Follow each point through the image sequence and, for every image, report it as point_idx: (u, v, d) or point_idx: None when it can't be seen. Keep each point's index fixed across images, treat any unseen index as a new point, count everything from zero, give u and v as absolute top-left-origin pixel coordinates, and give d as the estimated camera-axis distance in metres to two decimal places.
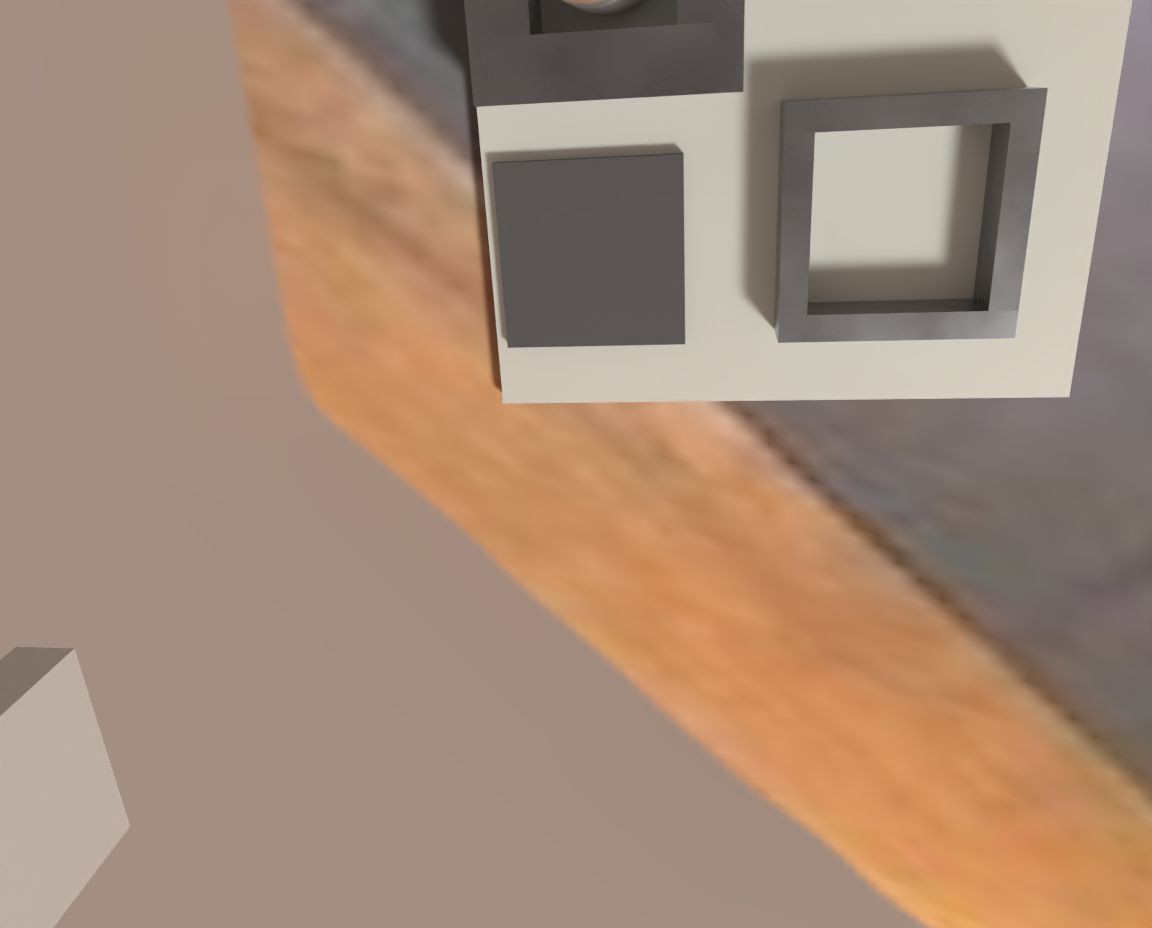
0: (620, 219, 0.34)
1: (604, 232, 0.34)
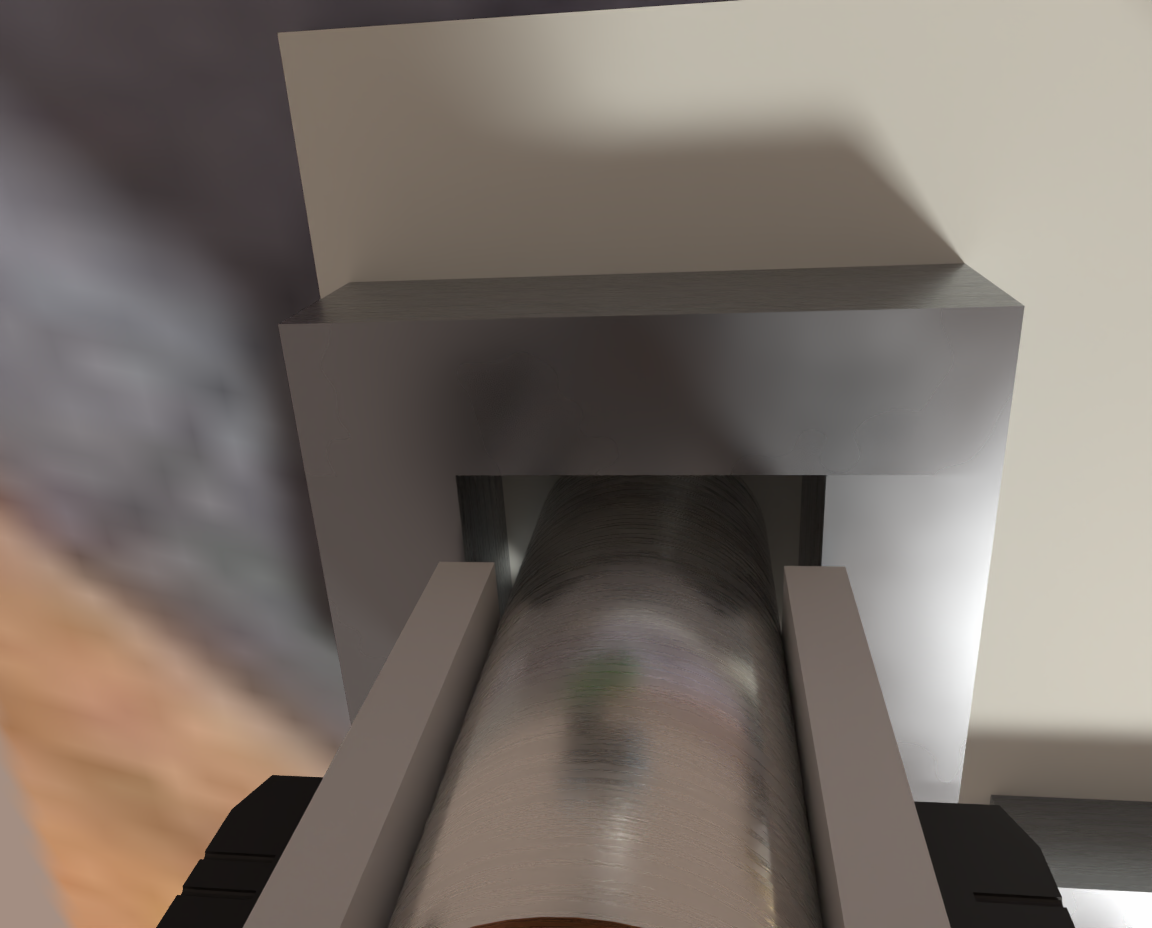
0: None
1: None
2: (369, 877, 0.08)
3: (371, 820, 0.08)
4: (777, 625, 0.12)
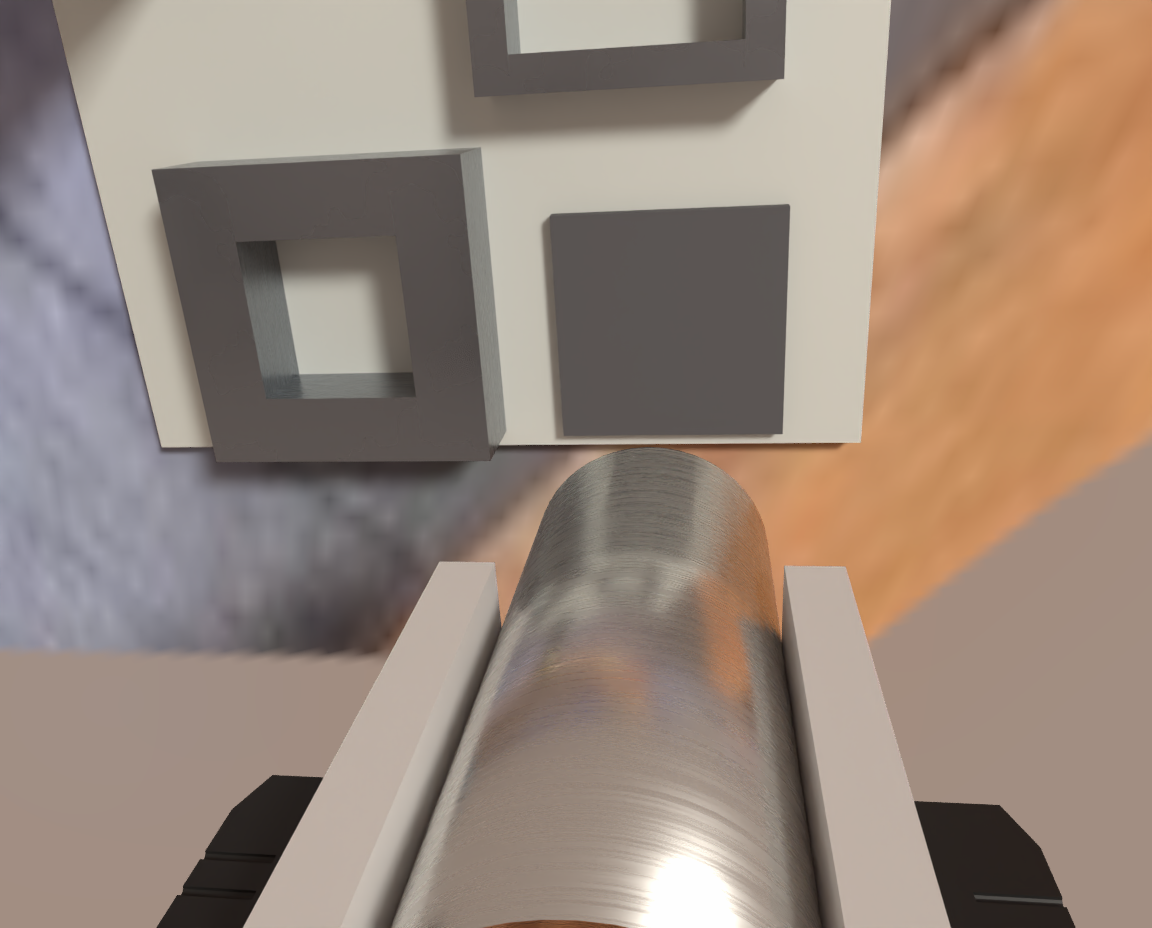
0: (625, 292, 0.28)
1: (641, 311, 0.28)
2: (370, 877, 0.08)
3: (372, 820, 0.08)
4: (777, 633, 0.12)
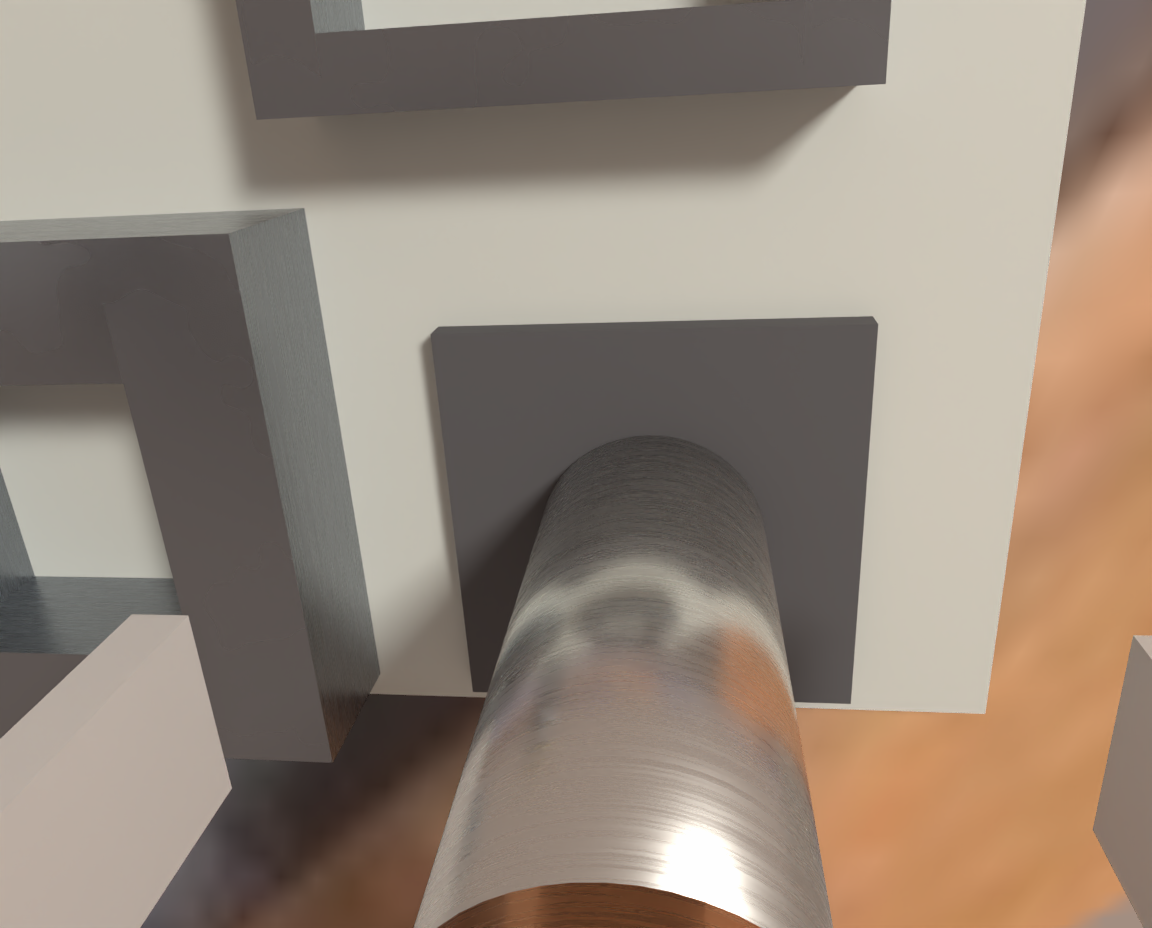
0: None
1: None
2: None
3: None
4: (777, 613, 0.12)
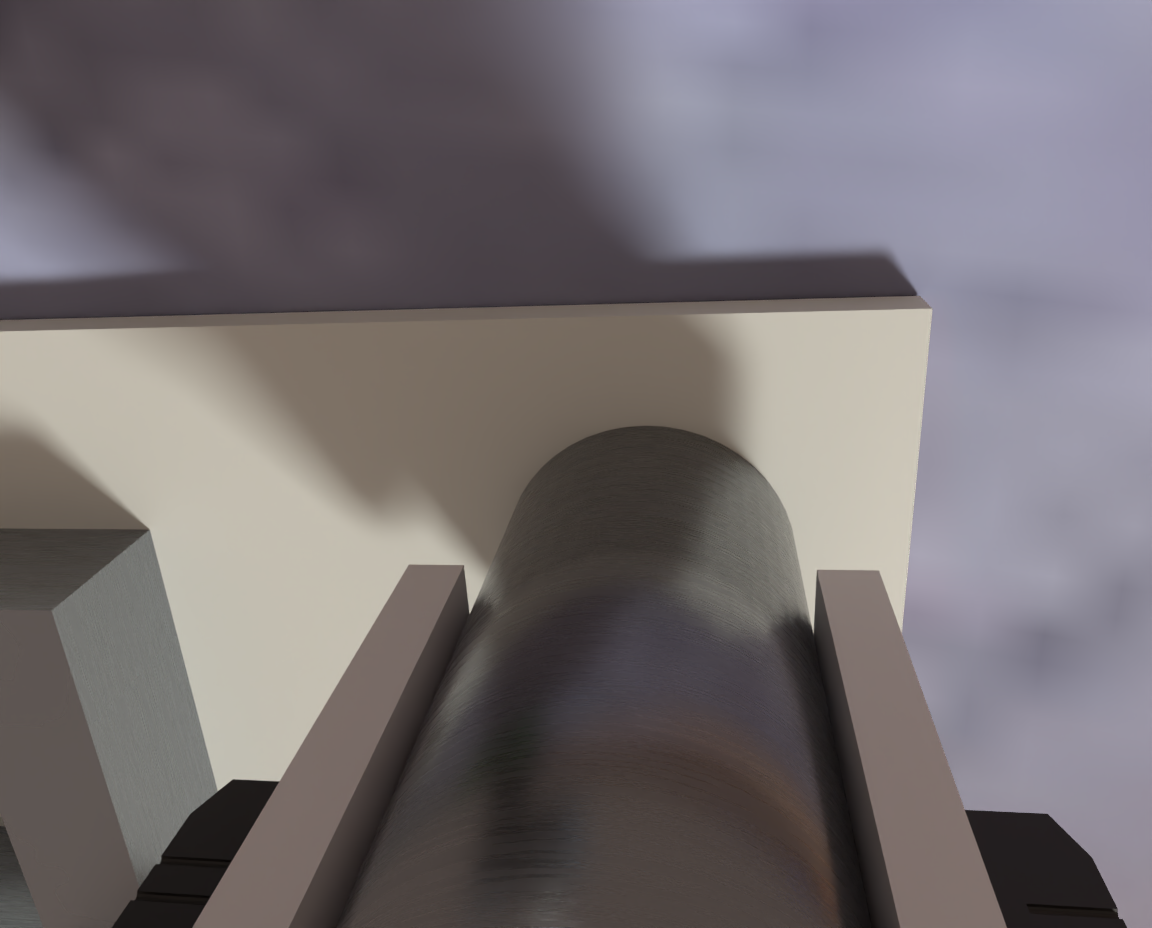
0: None
1: None
2: (320, 882, 0.08)
3: (324, 825, 0.08)
4: None
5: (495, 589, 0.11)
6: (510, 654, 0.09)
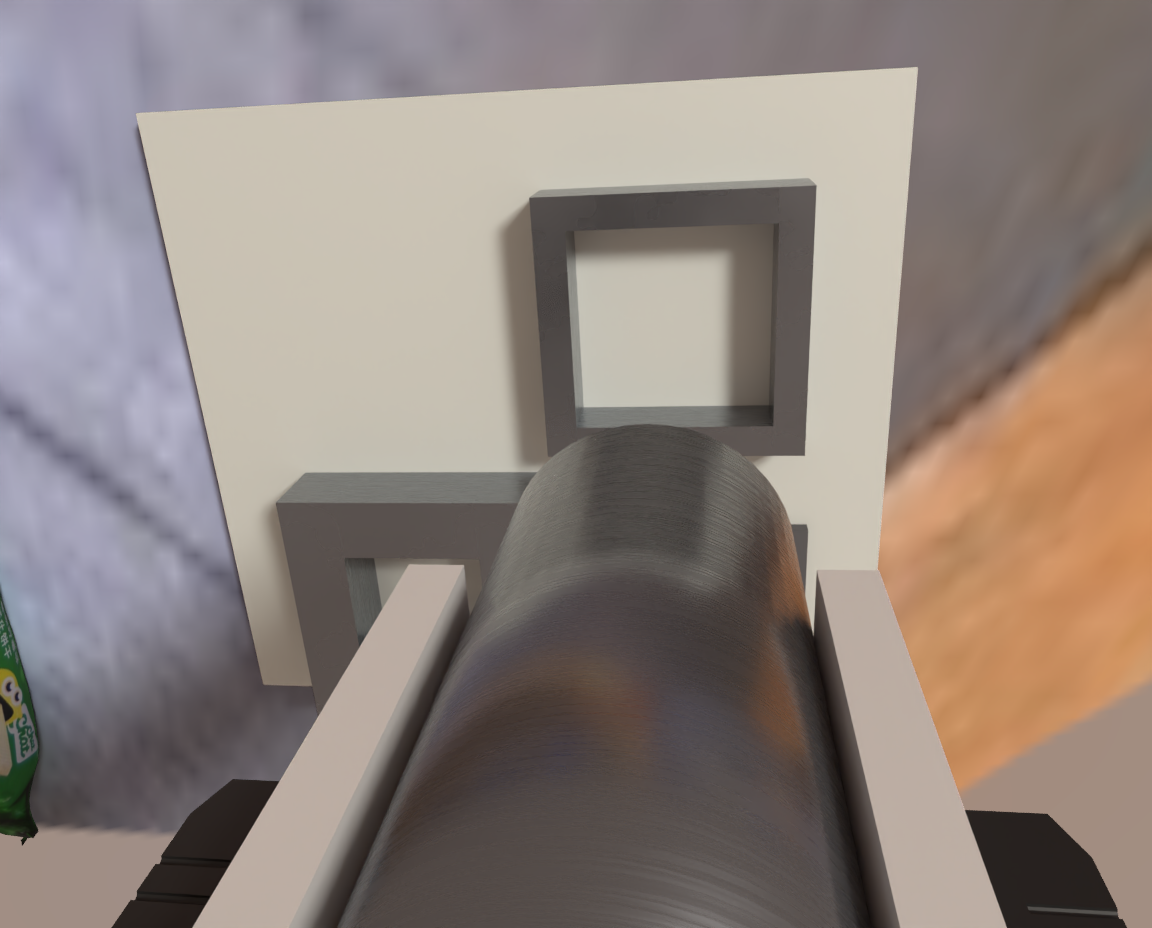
0: None
1: None
2: (320, 882, 0.08)
3: (324, 824, 0.08)
4: None
5: (498, 585, 0.11)
6: (513, 648, 0.09)
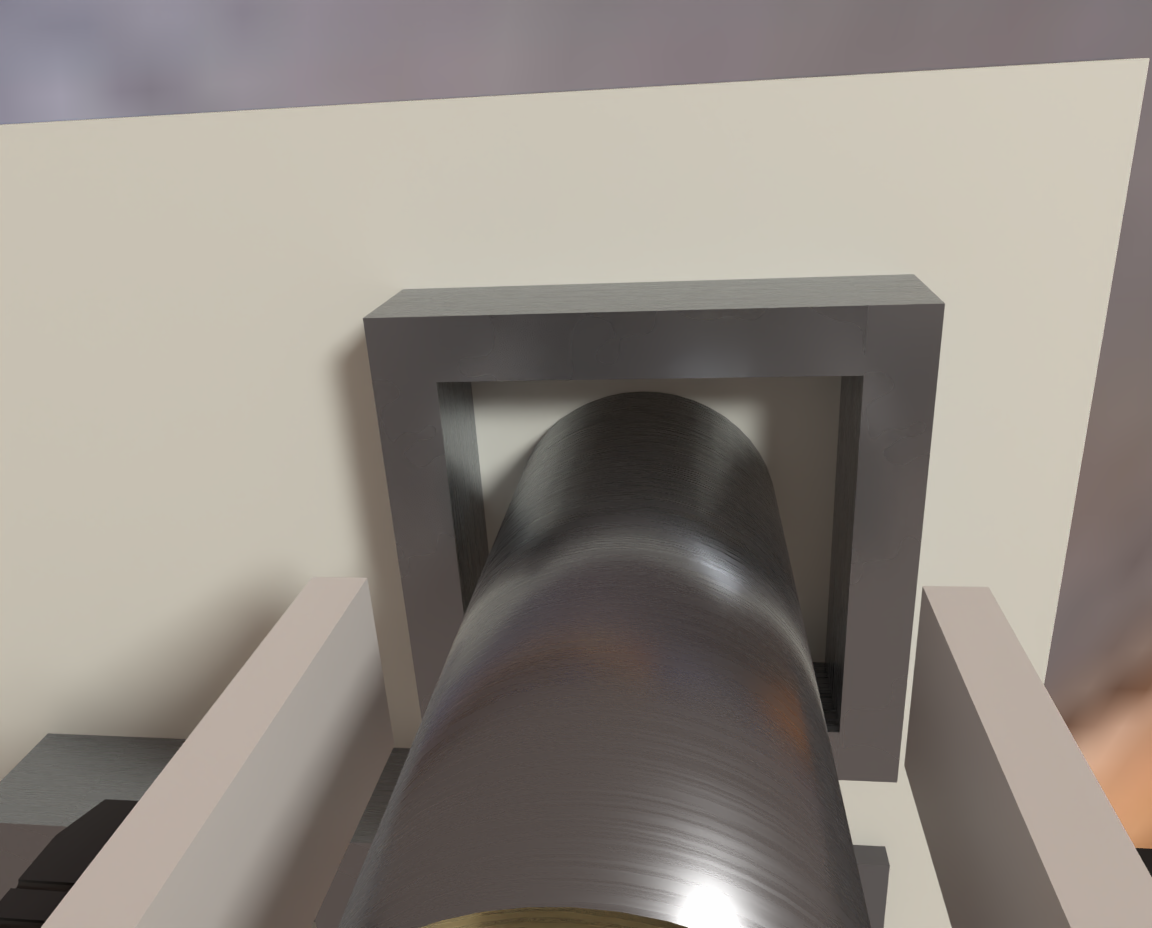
0: None
1: None
2: (159, 910, 0.07)
3: (172, 850, 0.08)
4: None
5: (515, 525, 0.12)
6: (534, 569, 0.10)
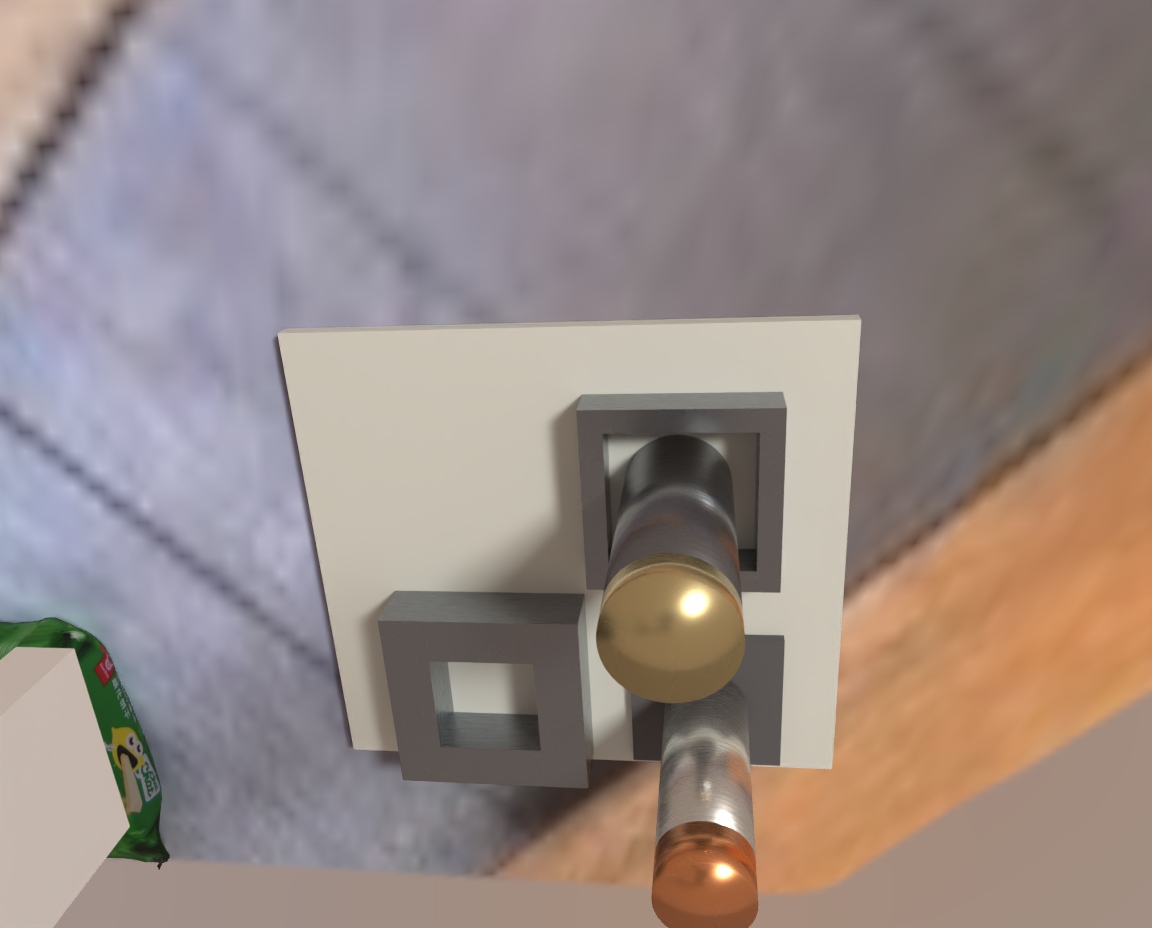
0: None
1: None
2: None
3: None
4: (746, 743, 0.39)
5: (634, 485, 0.35)
6: (646, 496, 0.34)
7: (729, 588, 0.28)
